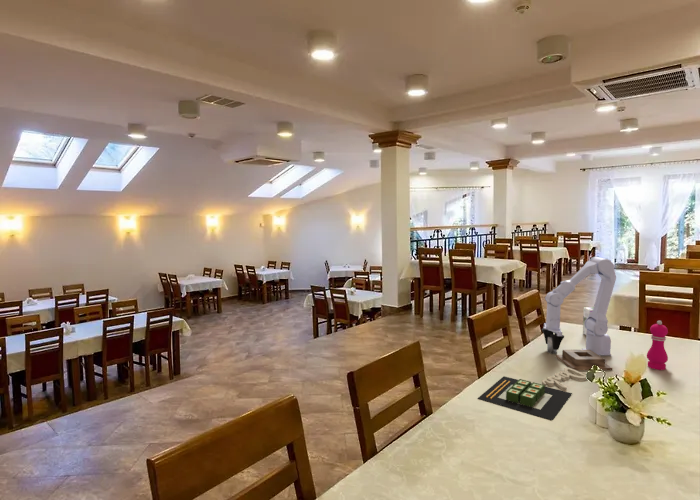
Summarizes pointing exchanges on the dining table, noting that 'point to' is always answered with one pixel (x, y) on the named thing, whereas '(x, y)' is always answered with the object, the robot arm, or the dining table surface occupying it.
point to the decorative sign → (562, 376)
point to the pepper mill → (657, 347)
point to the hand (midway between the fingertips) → (552, 346)
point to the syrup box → (585, 315)
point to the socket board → (582, 359)
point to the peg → (550, 346)
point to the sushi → (526, 397)
